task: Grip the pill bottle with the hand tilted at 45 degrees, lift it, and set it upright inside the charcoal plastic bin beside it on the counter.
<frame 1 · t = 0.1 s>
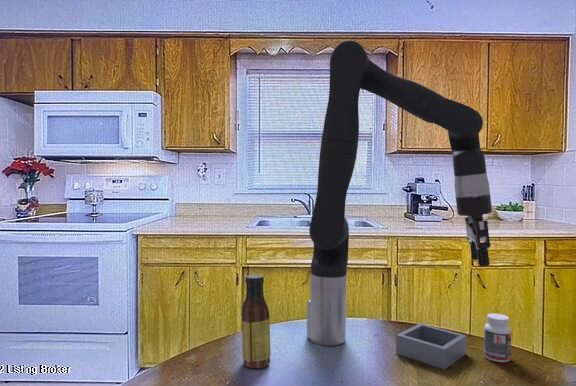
hand: (480, 262, 101), 22 cm above the table, tool pointing down, fingers open, 8 cm apart
sauce bottle: (255, 364, 96), on the table
pill bottle: (496, 358, 101), on the table
bin: (431, 353, 103), on the table
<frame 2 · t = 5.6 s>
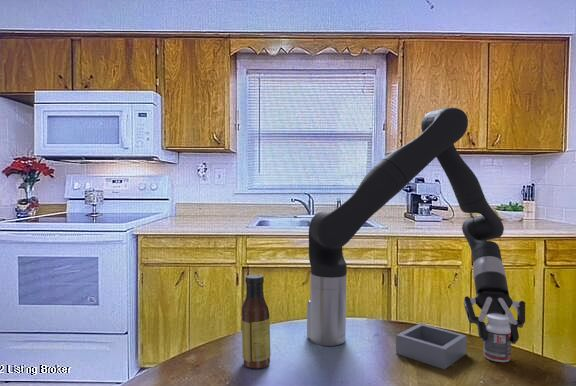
hand: (499, 340, 99), 5 cm above the table, tool tilted 45°, fingers closed on pill bottle, 5 cm apart
pill bottle: (496, 358, 101), on the table, touching gripper
everything else where it was.
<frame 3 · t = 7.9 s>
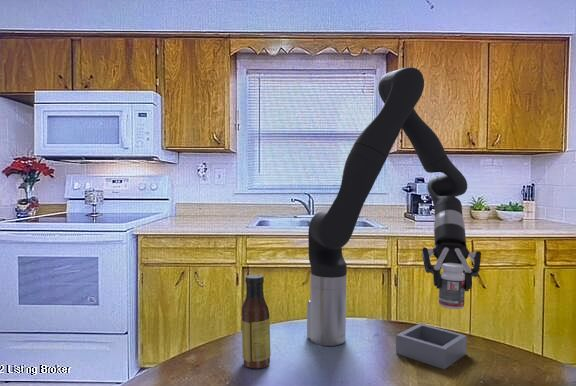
hand: (452, 287, 100), 17 cm above the table, tool tilted 45°, fingers closed on pill bottle, 5 cm apart
pill bottle: (451, 307, 101), point 12 cm above the table, touching gripper
everything else where it was.
when the fingers open (8 cm above the table, at t = 10.6 s): pill bottle drops 2 cm, resting on bin.
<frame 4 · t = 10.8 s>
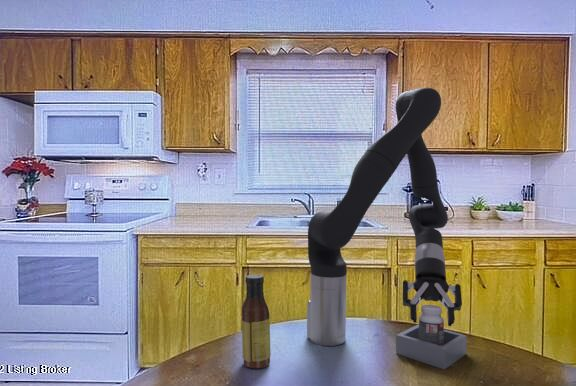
hand: (432, 322, 101), 8 cm above the table, tool tilted 45°, fingers open, 7 cm apart
pill bottle: (430, 349, 103), point 1 cm above the table, touching bin
everything else where it was.
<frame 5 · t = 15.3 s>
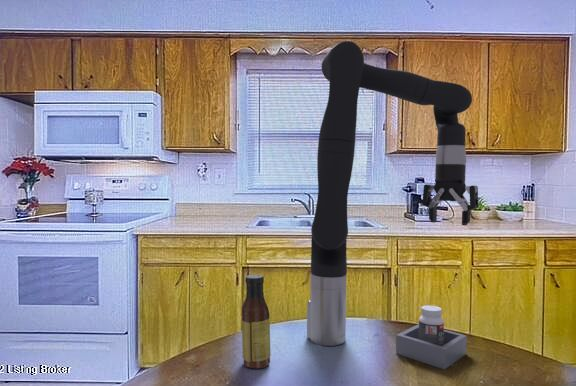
hand: (448, 223, 114), 30 cm above the table, tool pointing down, fingers open, 8 cm apart
nothing on the table moved.
at the end: pill bottle inside the target area on the bin (0.2 cm from its centre), point 0.8 cm above the bin's base; pill bottle tilted 1°; the gripper is holding nothing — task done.
